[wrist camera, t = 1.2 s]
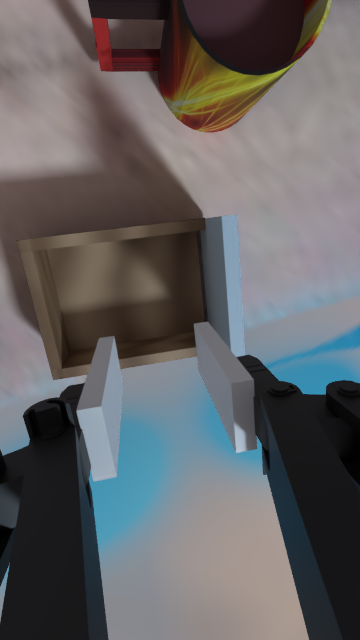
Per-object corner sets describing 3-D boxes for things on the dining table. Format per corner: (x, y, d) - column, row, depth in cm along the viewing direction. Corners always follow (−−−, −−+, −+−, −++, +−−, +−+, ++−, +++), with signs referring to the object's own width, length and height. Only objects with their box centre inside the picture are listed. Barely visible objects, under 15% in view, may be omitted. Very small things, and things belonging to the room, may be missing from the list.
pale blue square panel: (237, 214, 20) (221, 216, 20) (247, 393, 24) (234, 395, 24) (208, 218, 32) (198, 219, 32) (217, 335, 36) (209, 336, 36)
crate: (193, 219, 33) (204, 218, 27) (204, 335, 36) (216, 353, 31) (36, 238, 31) (16, 240, 26) (65, 357, 35) (53, 380, 30)
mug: (97, 67, 28) (71, -45, 16) (232, -12, 28) (301, -181, 16) (151, 172, 31) (161, 139, 19) (273, 102, 31) (356, 27, 19)
